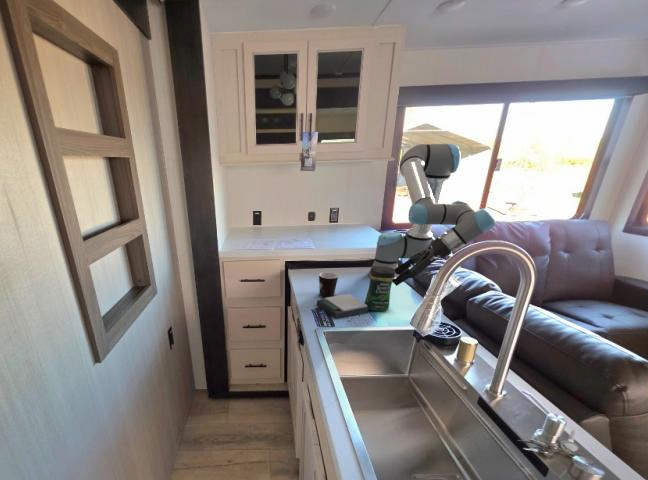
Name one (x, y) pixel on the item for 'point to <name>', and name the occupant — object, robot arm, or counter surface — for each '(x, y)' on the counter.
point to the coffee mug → (327, 284)
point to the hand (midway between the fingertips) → (394, 277)
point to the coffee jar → (379, 288)
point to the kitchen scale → (342, 306)
